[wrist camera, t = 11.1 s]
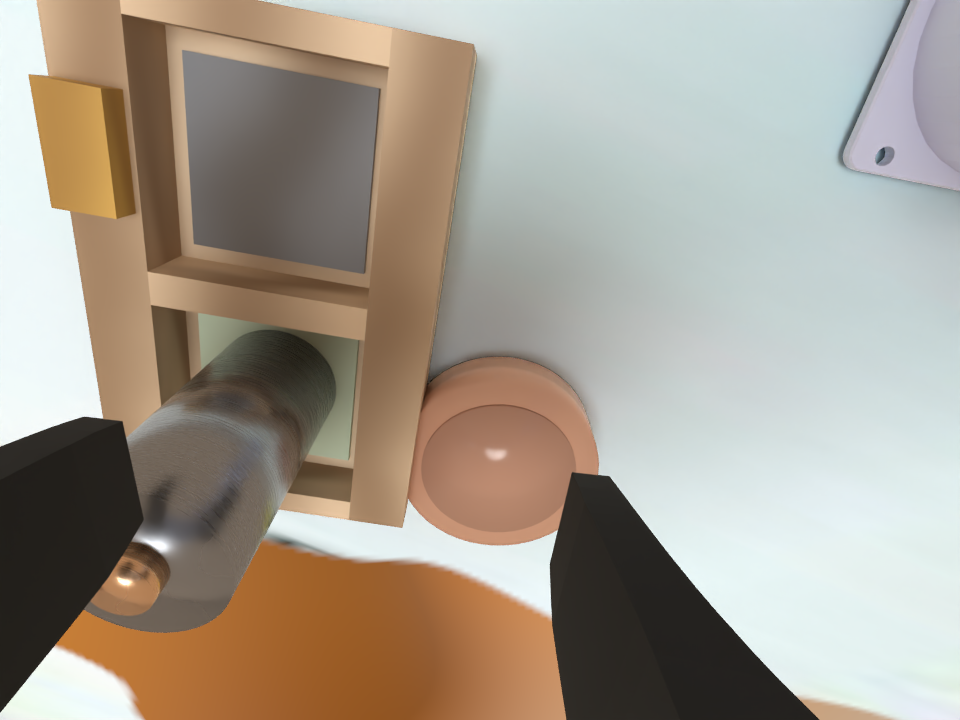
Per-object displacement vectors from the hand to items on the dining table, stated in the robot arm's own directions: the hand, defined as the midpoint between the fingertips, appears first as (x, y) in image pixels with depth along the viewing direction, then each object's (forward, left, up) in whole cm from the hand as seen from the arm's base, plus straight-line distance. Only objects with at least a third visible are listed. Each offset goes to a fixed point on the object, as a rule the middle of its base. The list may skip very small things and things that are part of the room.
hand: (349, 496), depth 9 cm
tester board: (+4, 0, -10) cm, 11 cm away
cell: (+4, +4, -9) cm, 11 cm away
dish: (-4, +5, -10) cm, 12 cm away
